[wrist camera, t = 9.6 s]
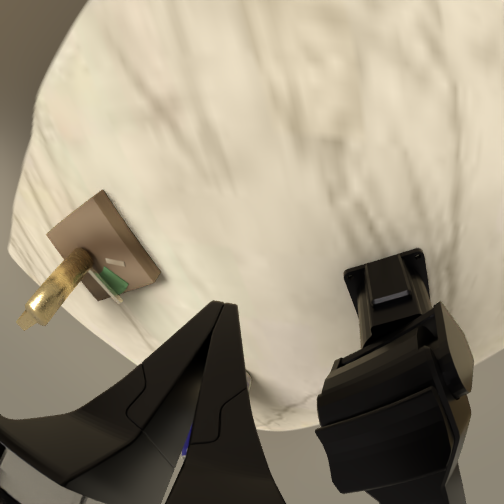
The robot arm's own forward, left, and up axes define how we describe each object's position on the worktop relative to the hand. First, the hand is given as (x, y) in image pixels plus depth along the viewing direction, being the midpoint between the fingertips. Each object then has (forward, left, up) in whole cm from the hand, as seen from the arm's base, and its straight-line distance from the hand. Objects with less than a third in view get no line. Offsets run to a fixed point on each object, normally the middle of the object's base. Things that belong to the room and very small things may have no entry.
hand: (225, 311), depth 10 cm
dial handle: (-1, +20, -10) cm, 22 cm away
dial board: (0, +18, -12) cm, 21 cm away
